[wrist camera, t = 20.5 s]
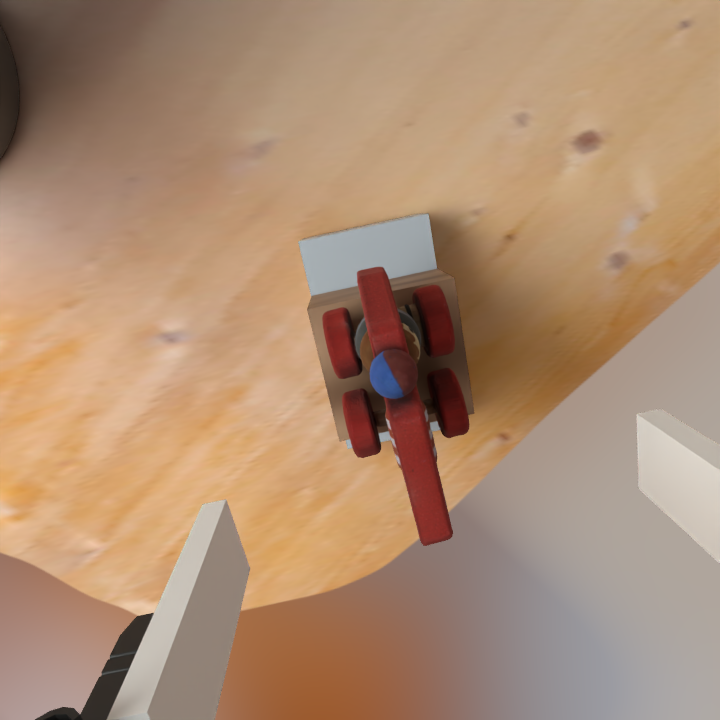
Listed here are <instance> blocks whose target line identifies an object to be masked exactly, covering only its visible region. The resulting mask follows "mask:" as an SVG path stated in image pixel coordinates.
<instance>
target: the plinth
mask: <svg viewBox="0 0 720 720" xmlns="http://www.w3.org/2000/svg"><path fill="white" fill-rule="evenodd" d="M298 243H299V247H300V251H301V255H302V260H303V264H304V268H305V272H306V276H307V281H308V285H309V289H310V293H311V297H312V296H313V295H317V294H322V293H327V292H331V291H336V290H341V289H345V288H350V287H354V286H358V283H357V272H358V271H360V270H364V269H369V268H374V267H383V268H384V269H385V271H386V273H387V275H388V278H389V279H392V278H396V277H401V276H405V275H410V274H415V273H419V272H424V271H429V270H433V269H437V265H436V259H435V252H434V246H433V239H432V233H431V226H430V220H429V214H415V215H411V216H406V217H401V218H397V219H392V220H387V221H383V222H378V223H373V224H369V225H364V226H360V227H355V228H350V229H346V230H341V231H336V232H332V233H327V234H322V235H318V236H313V237H309V238H304V239H302V240H300V241H299V242H298ZM430 426H431V430H432V431H437V430H440V428H439V425H438V422H437V421H436V422H431V423H430ZM379 438H380V442H384V441H388V440H391V437H390V434H389V431H388V432H383V433H379ZM346 444H347V448H348V449H350V448H353V447H352V445H351V441H350V439H349V440H346Z"/></svg>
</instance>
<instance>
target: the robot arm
mask: <svg viewBox="0 0 720 720" xmlns="http://www.w3.org/2000/svg"><path fill="white" fill-rule="evenodd" d="M18 111H19V83H18V76H17V70H16V66H15V62H14V58H13V55H12V52H11V49H10V46H9V43H8V41H7V38H6V36H5V34H4V32H3V30H2V28H1V26H0V158H1V157H2V155H3V154H4V152H5V151H6V149H7V147H8V145H9V143H10V141H11V138H12V136H13V133H14V130H15V127H16V123H17V118H18ZM637 452H638V488H639V490H641V491H642V492H643V493H644V494H645V495H646V496H647V497H648V498H649V499H650V500H651V501H652V502H653V503H655V504H656V505H657V506H658V507H659V508H660V509H661V510H662V511H663V512H664V513H666V515H668V516H669V517H670V518H671V519H672V520H673V521H674V522H675V523H676V524H677V525H678V526H680V527H681V528H682V529H683V530H684V531H685V532H686V533H687V534H688V535H689V536H690V537H691V538H693V540H695V541H696V542H697V543H698V544H699V545H700V546H701V547H702V548H703V549H704V550H705V551H706V552H708V553H709V554H710V555H711V556H712V557H713V558H714V559H715V560H716V561H717V562H719V564H720V445H719V444H717V443H716V442H714V441H713V440H711V439H709V438H708V437H706V436H704V435H703V434H701V433H700V432H698V431H696V430H695V429H693V428H691V427H690V426H688V425H687V424H685V423H683V422H682V421H680V420H678V419H677V418H675V417H674V416H672V415H670V414H669V413H667V412H665V411H664V410H662V409H657V410H652V411H647V412H643V413H638V414H637ZM249 571H250V567H249V564H248V561H247V558H246V555H245V552H244V549H243V547H242V544H241V541H240V538H239V535H238V532H237V529H236V526H235V523H234V520H233V518H232V515H231V512H230V509H229V506H228V503H227V500H226V499H225V500H220V501H216V502H211V503H206V504H202V507H201V509H200V511H199V513H198V516H197V518H196V520H195V522H194V525H193V527H192V529H191V531H190V534H189V536H188V538H187V540H186V543H185V545H184V547H183V549H182V552H181V554H180V556H179V558H178V561H177V563H176V565H175V567H174V570H173V572H172V574H171V576H170V579H169V581H168V583H167V585H166V588H165V590H164V592H163V594H162V596H161V599H160V601H159V603H158V605H157V608H156V610H155V612H154V613H151V614H146V615H141V616H137V617H136V618H135V619H134V620H133V621H132V622H131V624H130V625H129V626H128V627H127V628H126V629H125V631H124V632H123V633H122V634H121V635H120V637H119V639H118V641H117V643H116V645H115V647H114V649H113V651H112V653H111V655H110V659H109V660H108V661H107V663H106V665H105V667H104V669H103V671H102V676H101V677H99V679H98V681H97V682H96V684H95V687H94V689H93V690H92V693H91V695H90V697H89V699H88V700H87V702H86V705H85V707H84V708H83V710H82V712H81V714H79V713H78V712H77V711H76V710H75V709H74V708H67V707H62V708H59V709H55V710H52V711H49V712H47V713H46V714H44V715H43V716H40V717H39V718H37V719H35V720H215V716H216V712H217V708H218V703H219V699H220V695H221V691H222V686H223V682H224V678H225V673H226V669H227V665H228V660H229V656H230V652H231V648H232V644H233V639H234V635H235V631H236V626H237V622H238V618H239V614H240V610H241V605H242V601H243V597H244V592H245V588H246V584H247V580H248V575H249Z"/></svg>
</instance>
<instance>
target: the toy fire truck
mask: <svg viewBox="0 0 720 720" xmlns="http://www.w3.org/2000/svg"><path fill="white" fill-rule="evenodd" d="M357 283H358V288H359V292H360V297H361V302H362V307H363V311H364V318H363V319H362V321H361V322H360V324H359V325H358V328H357V330H356V331H355V330H354V327H353V323H352V320H351V316H350V313H349V311H348V309H347V308H344V307H341V308H337V309H333V310H329V311H326V312H325V313H324V314H323V317H322V322H323V329H324V335H325V340H326V345H327V349H328V353H329V356H330V360H331V363H332V366H333V369H334V372H335V374H336V376H337V377H338V378H340V379H346V378H350V377H354V376H358V375H360V374H361V372H362V370H363V369H362V363H363V365H364V367H365V368H366V369H367V370H368V371H369V372H370V381H371V384H372V386H373V388H374V389H375V390H376V391H377V392H378V393H379V394H380V395H382V396H384V399H385V403H386V409H383V410H379V411H374V412H373V409H372V405H371V402H370V399H369V396H368V393H367V391H366V390H365V389H363V388H359V389H356V390H352V391H348V392H345V393H344V394H343V396H342V406H343V413H344V417H345V422H346V427H347V431H348V434H349V438H350V441H351V445H352V447H353V450H354V452H355V454H356V455H357V456H358V457H361V458H364V457H368V456H372V455H376V454H378V453H379V452H380V450H381V442H380V438H379V433H378V429H377V427H382V426H387V425H388V429H389V434H390V437H391V441H392V445H393V449H394V453H395V456H396V459H397V463H398V465H399V467H400V468H401V470H402V472H403V475H404V479H405V483H406V487H407V491H408V494H409V498H410V502H411V506H412V510H413V514H414V517H415V521H416V525H417V529H418V533H419V537H420V541H421V543H422V544H423V545H424V546H427V545H430V544H434V543H438V542H441V541H445V540H448V539H450V538H451V537H452V534H453V530H452V527H451V522H450V518H449V514H448V510H447V505H446V501H445V497H444V493H443V488H442V484H441V480H440V476H439V472H438V468H437V463H436V462H437V452H436V448H435V444H434V439H433V434H432V430H431V426H430V421H429V418H428V415H430V414H434V413H435V416H436V419H437V422H438V425H439V428H440V430H441V432H442V434H443V435H444V436H445V437H447V438H451V437H454V436H458V435H464V434H465V433H467V432H468V430H469V418H468V412H467V408H466V404H465V400H464V396H463V393H462V390H461V387H460V384H459V382H458V379H457V377H456V375H455V373H454V371H453V370H451V369H450V368H444V369H440V370H436V371H432V372H430V373H429V374H428V376H427V382H428V388H429V393H430V397H431V398H430V399H426V400H420V396H419V393H418V389H417V386H416V383H417V379H418V370H417V366H416V365H417V363H418V360H419V357H420V348H421V347H422V346H423V348H424V350H425V352H426V354H427V355H428V356H429V357H431V358H436V357H439V356H443V355H448V354H450V353H452V352H453V351H454V348H455V336H454V329H453V323H452V319H451V316H450V311H449V307H448V305H447V301H446V298H445V295H444V293H443V291H442V289H441V288H440V286H438V285H429V286H425V287H421V288H417V289H416V290H415V291H414V292H413V296H412V300H413V304H411V305H407V304H406V305H404V306H403V307H400V308H397V306H396V302H395V299H394V295H393V292H392V288H391V285H390V281H389V278H388V275H387V273H386V271H385V269H384V268H383V267H374V268H369V269H364V270H360V271H358V272H357ZM361 360H362V361H361Z"/></svg>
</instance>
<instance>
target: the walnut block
mask: <svg viewBox="0 0 720 720" xmlns="http://www.w3.org/2000/svg"><path fill="white" fill-rule="evenodd" d="M389 281H390V285H391V288H392V292H393V295H394V299H395V302H396V306H397V308H400V307H403V306H404V305H406V304H407V305H411V304H413V300H412V296H413V292H414V291H415V290H416V289H417V288H421V287H425V286H429V285H438V286H440V288H441V289H442V291H443V293H444V295H445V298H446V301H447V305H448V307H449V311H450V316H451V319H452V323H453V329H454V336H455V348H454V351H453V352H452V353H450V354H448V355H443V356H439V357H436V358H431V357H429V356H428V355H427V354H426V352H425V350H424V348H423V346H422V347H421V348H420V357H419V360H418V363H417V365H416V366H417V370H418V379H417V383H416V386H417V389H418V393H419V396H420V400H426V399H430V398H431V397H430V393H429V388H428V382H427V376H428V374H429V373H430V372H432V371H436V370H440V369H444V368H450V369H451V370H453V371H454V373H455V375H456V377H457V379H458V382H459V384H460V387H461V390H462V393H463V396H464V400H465V404H466V408H467V412H468V415H469V414H474V407H473V400H472V394H471V387H470V380H469V373H468V367H467V360H466V353H465V346H464V339H463V333H462V326H461V319H460V312H459V306H458V299H457V292H456V285H455V279H454V277H452V276H450V275H449V274H447V273H445V272H443V271H441V270H440V269H433V270H429V271H424V272H419V273H415V274H410V275H405V276H401V277H396V278H392V279H389ZM341 307H344V308H347V309H348V311H349V313H350V316H351V320H352V323H353V327H354V330H355V331H356V330H357V328H358V325H359V324H360V322H361V321H362V319H363V318H364V311H363V307H362V302H361V297H360V292H359V288H358V286H354V287H350V288H345V289H341V290H336V291H331V292H327V293H322V294H317V295H313V296H312V297H311V300H310V303H309V306H308V309H307V310H308V315H309V319H310V323H311V327H312V331H313V335H314V339H315V343H316V347H317V351H318V355H319V359H320V363H321V367H322V371H323V375H324V379H325V384H326V388H327V392H328V396H329V400H330V404H331V408H332V412H333V416H334V420H335V424H336V428H337V432H338V436H339V440H340V441H345V440H349V439H350V438H349V434H348V431H347V427H346V422H345V417H344V413H343V406H342V396H343V394H344V393H345V392H348V391H352V390H356V389H359V388H363V389H365V390H366V391H367V393H368V396H369V399H370V402H371V405H372V409H373V412H374V411H379V410H383V409H386V403H385V399H384V396H382V395H380V394H379V393H378V392H377V391H376V390H375V389H374V388H373V386H372V384H371V381H370V372H369V371H368V370H367V369H366V368H365V367H364V365H363V363H362V369H363V370H362V372H361V374H360V375H358V376H354V377H350V378H346V379H340V378H338V377H337V376H336V374H335V372H334V369H333V366H332V363H331V360H330V356H329V353H328V349H327V345H326V340H325V335H324V329H323V322H322V317H323V314H324V313H325V312H326V311H329V310H333V309H337V308H341ZM361 361H362V360H361ZM428 418H429V421H430V423H431V422H436V421H437V419H436V416H435V413H434V414H430V415H428ZM377 429H378V433H383V432H388V431H389V429H388V425H387V426H382V427H377Z"/></svg>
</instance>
